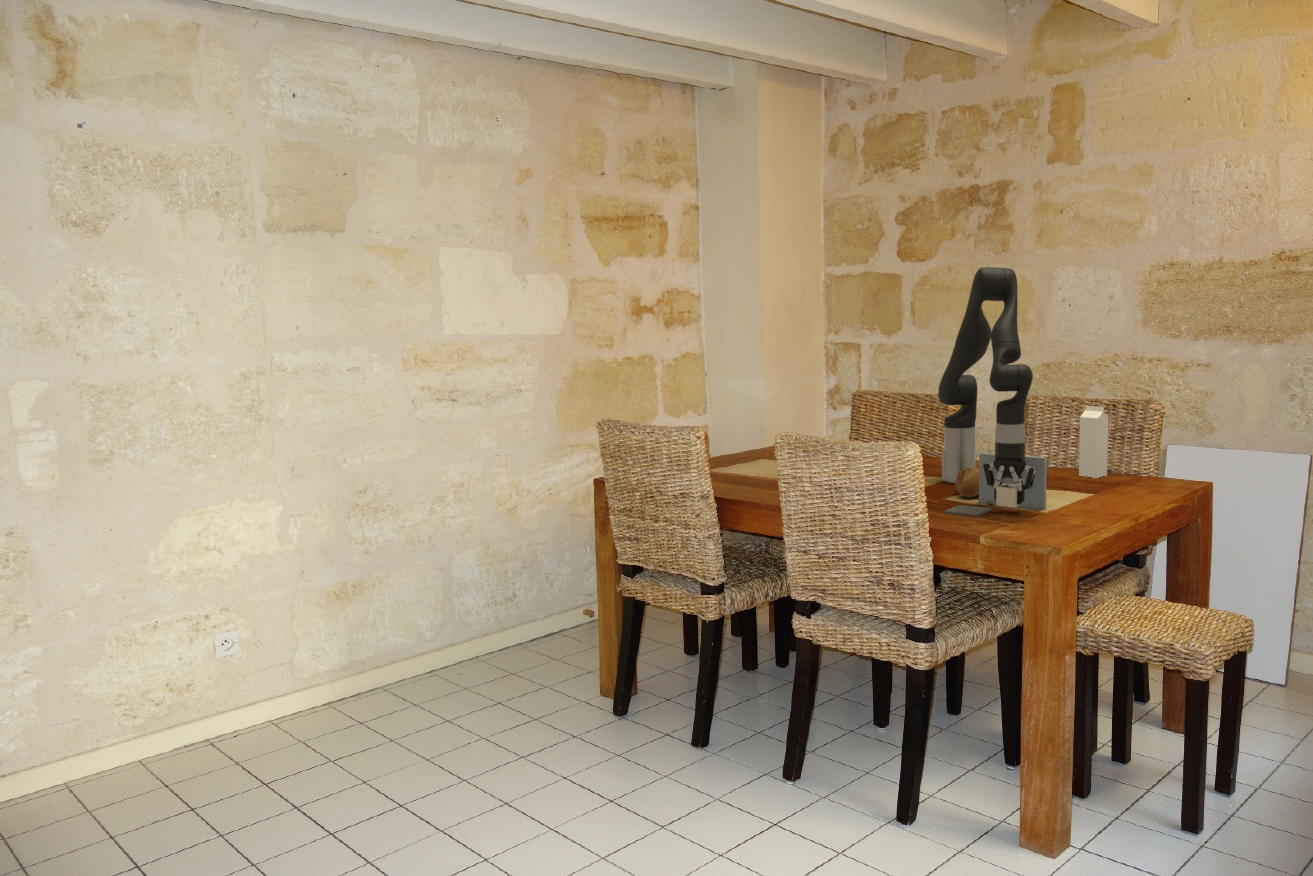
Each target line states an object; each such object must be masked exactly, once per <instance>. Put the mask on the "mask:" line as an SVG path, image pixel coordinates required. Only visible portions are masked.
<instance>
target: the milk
mask: <svg viewBox="0 0 1313 876" xmlns="http://www.w3.org/2000/svg"><path fill="white" fill-rule="evenodd" d="M1108 438H1109V416H1108V414H1106V412H1104V406H1096V405H1095V406H1094V405H1085V406H1084V411H1083V413H1081V415H1080V416H1079V445H1078V446H1079V447H1078V448H1079V449H1078V450H1079V451H1078V456H1079V457H1078V459H1079V460H1078V461H1079V462H1078V464H1079V465H1078V477H1079V476H1087V477H1092V478H1091V479H1096V478H1097V479H1100V478H1099V477H1101V478H1103V477H1102V476H1105V477H1107V476H1108V451H1109V450H1108V447H1109V446H1108V445H1109V443H1108V442H1109V440H1108ZM1087 477H1086V478H1087Z"/></svg>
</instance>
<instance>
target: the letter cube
mask: <svg viewBox="0 0 1313 876" xmlns="http://www.w3.org/2000/svg"><path fill="white" fill-rule="evenodd" d="M1017 491H1018V489H1017V486H1016V485H1012V484H1002V485H1000V486H998V487H996V506H998V507H999V506H1000V507H1007V508H1008V507H1009V508H1018V507H1017V506H1019V505H1018V504H1017ZM1020 505H1021V504H1020Z"/></svg>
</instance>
